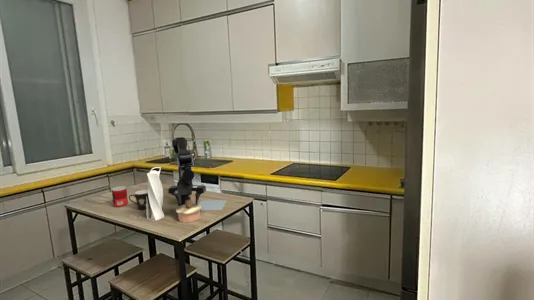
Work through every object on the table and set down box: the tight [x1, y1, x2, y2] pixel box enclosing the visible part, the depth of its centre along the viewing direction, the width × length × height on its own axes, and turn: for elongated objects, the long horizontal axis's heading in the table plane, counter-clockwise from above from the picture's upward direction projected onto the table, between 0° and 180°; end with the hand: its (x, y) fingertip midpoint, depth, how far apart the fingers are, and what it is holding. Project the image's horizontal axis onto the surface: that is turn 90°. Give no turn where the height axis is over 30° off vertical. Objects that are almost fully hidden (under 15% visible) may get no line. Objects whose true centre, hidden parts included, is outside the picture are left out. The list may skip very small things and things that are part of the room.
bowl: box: [177, 210, 201, 224], centre depth 156 cm, size 11×11×5 cm
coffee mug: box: [128, 189, 151, 211], centre depth 173 cm, size 12×9×10 cm
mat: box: [198, 199, 228, 211], centre depth 174 cm, size 16×16×1 cm
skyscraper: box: [145, 166, 165, 223], centre depth 156 cm, size 8×8×28 cm
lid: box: [175, 199, 202, 214], centre depth 155 cm, size 13×13×5 cm
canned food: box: [111, 185, 129, 208], centre depth 179 cm, size 8×8×11 cm
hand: (188, 205), depth 155 cm, fingers open, 8 cm apart
